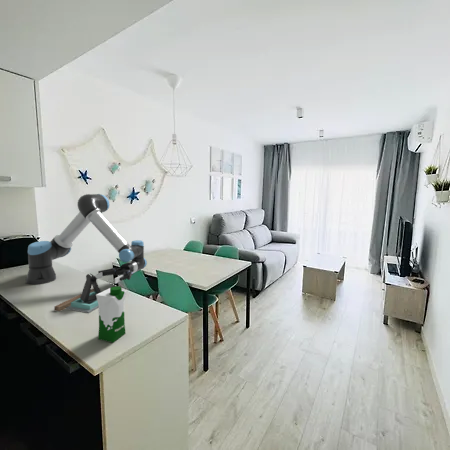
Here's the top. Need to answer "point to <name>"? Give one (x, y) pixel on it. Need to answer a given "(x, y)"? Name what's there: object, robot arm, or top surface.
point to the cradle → (84, 305)
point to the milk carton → (111, 314)
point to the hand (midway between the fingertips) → (103, 279)
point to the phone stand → (87, 287)
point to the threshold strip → (68, 302)
